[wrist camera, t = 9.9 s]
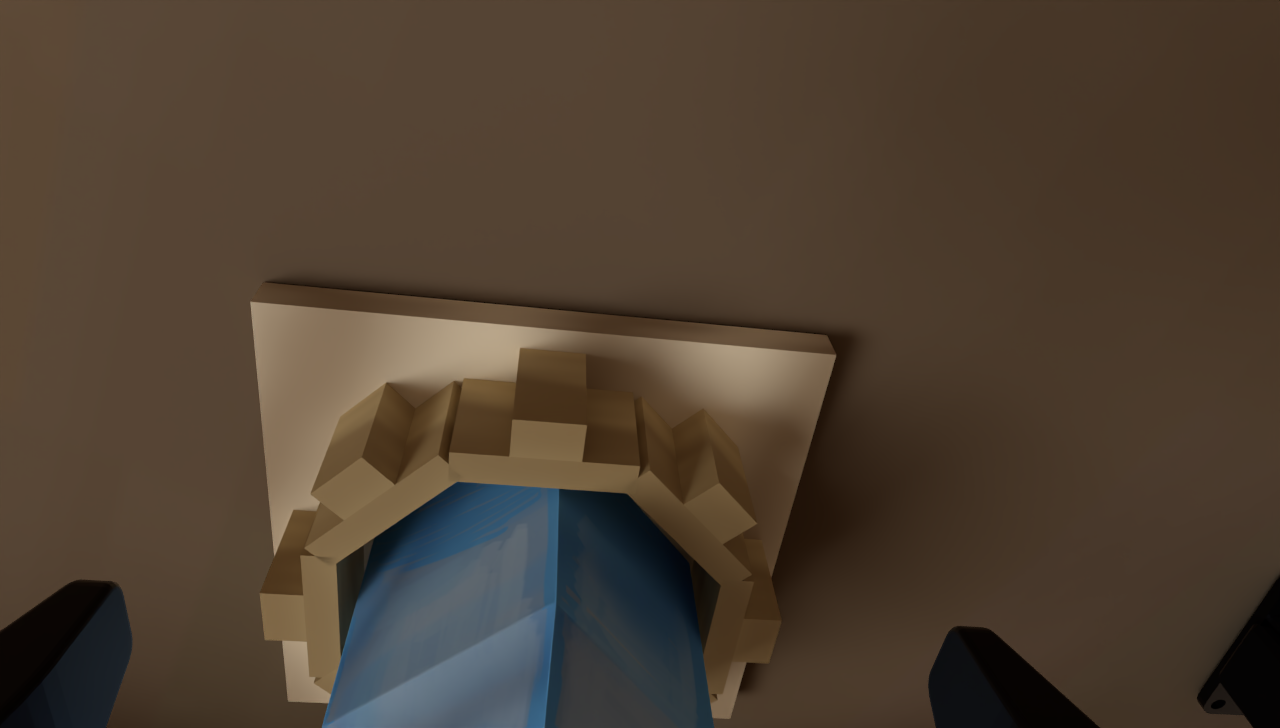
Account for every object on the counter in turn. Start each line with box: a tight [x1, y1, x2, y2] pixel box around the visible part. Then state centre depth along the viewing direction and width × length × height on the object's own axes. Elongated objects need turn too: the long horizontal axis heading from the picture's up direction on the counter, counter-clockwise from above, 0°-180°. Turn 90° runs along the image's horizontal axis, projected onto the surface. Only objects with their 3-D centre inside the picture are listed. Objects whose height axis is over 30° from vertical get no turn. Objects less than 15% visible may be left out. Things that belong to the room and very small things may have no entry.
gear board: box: [251, 282, 836, 719], centre depth 24 cm, size 14×14×4 cm
